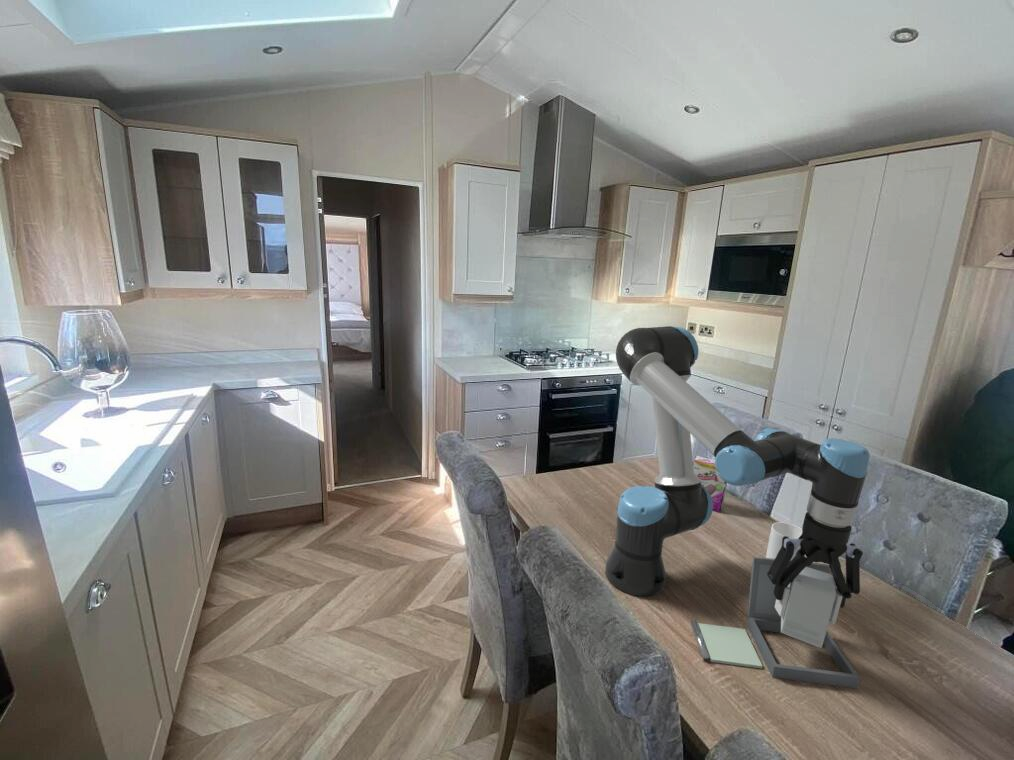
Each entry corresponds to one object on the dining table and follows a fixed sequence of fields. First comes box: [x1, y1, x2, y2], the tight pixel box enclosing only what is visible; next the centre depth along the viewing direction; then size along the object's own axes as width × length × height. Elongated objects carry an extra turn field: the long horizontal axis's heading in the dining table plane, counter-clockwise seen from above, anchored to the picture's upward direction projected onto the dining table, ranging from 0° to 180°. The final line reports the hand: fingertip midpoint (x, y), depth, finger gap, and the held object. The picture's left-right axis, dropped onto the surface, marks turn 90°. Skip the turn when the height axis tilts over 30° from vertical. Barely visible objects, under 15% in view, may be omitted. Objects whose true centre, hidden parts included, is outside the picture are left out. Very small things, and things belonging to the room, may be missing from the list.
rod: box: [690, 619, 710, 662], centre depth 100 cm, size 1×10×1 cm, turn 172°
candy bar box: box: [693, 455, 728, 513], centre depth 156 cm, size 11×5×16 cm, turn 58°
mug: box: [765, 521, 802, 561], centre depth 127 cm, size 9×12×11 cm
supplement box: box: [781, 567, 836, 649], centre depth 95 cm, size 7×7×13 cm
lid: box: [747, 556, 830, 620], centre depth 103 cm, size 16×14×1 cm
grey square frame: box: [746, 616, 861, 689], centre depth 97 cm, size 16×14×2 cm
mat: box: [697, 622, 764, 669], centre depth 99 cm, size 10×10×1 cm
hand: (804, 615), depth 96 cm, fingers closed on supplement box, 9 cm apart
